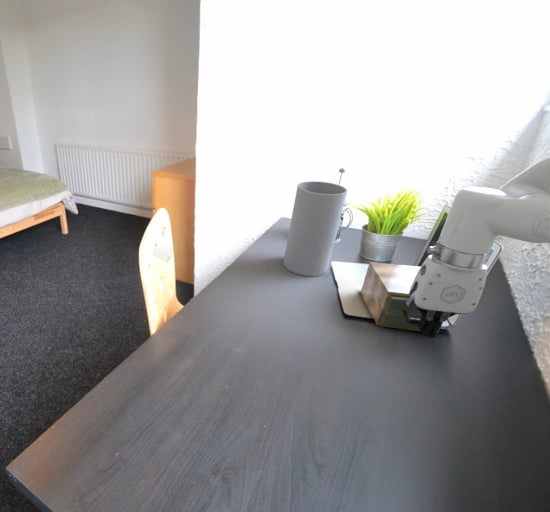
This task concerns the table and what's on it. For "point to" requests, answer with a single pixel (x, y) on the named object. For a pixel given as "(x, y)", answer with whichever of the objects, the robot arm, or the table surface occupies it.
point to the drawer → (401, 315)
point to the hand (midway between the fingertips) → (425, 332)
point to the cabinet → (386, 285)
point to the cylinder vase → (314, 227)
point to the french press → (342, 215)
